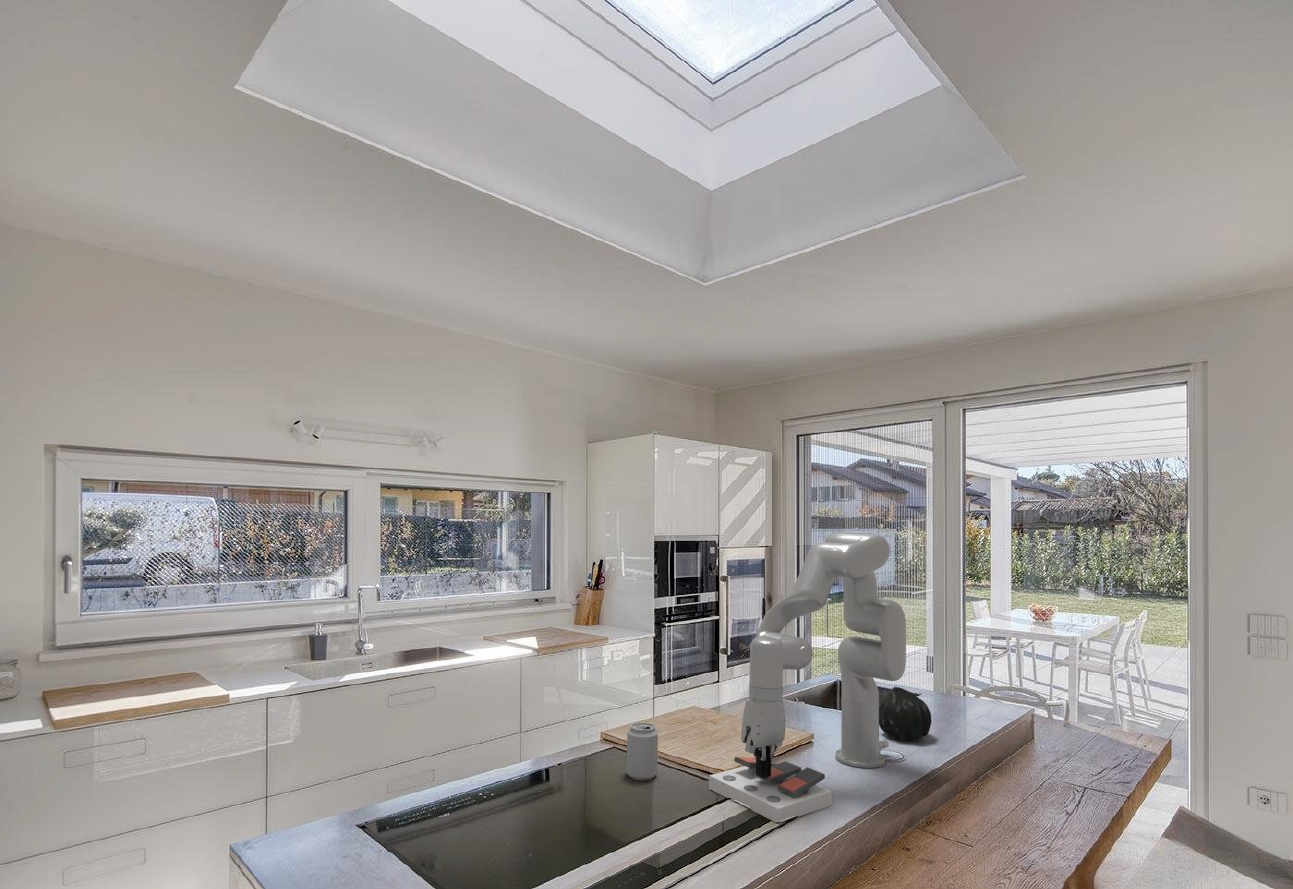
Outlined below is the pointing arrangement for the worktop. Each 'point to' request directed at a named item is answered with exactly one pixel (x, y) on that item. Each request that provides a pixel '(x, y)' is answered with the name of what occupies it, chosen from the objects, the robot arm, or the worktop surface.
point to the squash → (904, 715)
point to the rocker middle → (781, 772)
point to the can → (642, 751)
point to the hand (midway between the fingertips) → (763, 776)
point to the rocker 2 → (801, 782)
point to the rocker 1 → (748, 762)
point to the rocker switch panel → (767, 794)
